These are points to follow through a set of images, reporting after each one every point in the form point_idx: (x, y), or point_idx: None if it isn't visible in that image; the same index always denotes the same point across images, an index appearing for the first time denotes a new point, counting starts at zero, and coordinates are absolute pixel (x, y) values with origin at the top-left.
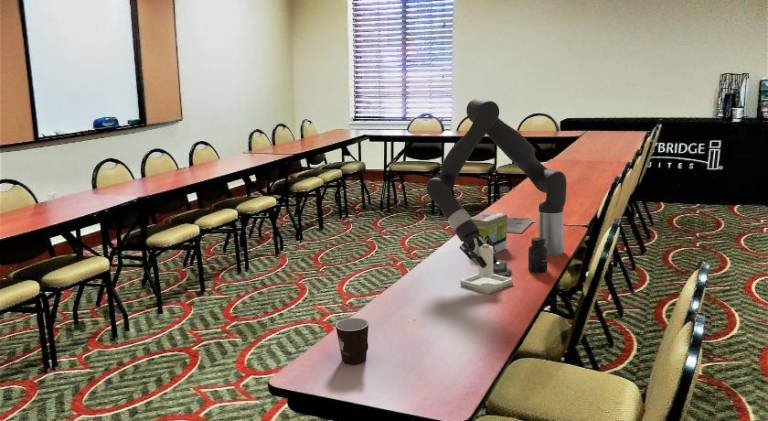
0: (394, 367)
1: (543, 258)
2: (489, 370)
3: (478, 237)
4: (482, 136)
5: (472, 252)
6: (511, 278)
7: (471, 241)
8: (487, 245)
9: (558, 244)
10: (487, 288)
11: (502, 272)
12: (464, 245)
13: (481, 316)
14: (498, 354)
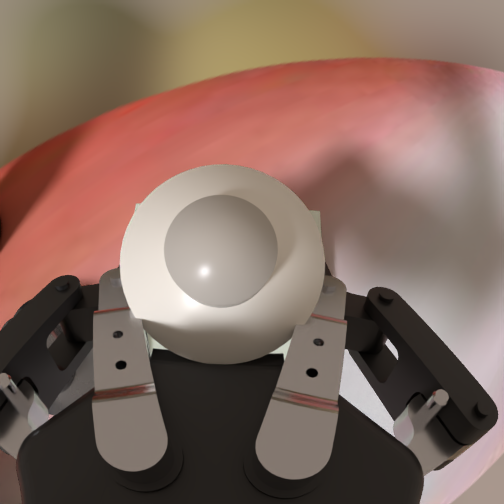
0: None
1: None
2: (494, 75)
3: (157, 463)
4: None
5: (402, 314)
6: (135, 210)
7: (350, 456)
8: (223, 211)
9: None
10: (319, 220)
11: (59, 325)
12: (483, 392)
13: (444, 142)
14: (475, 73)
